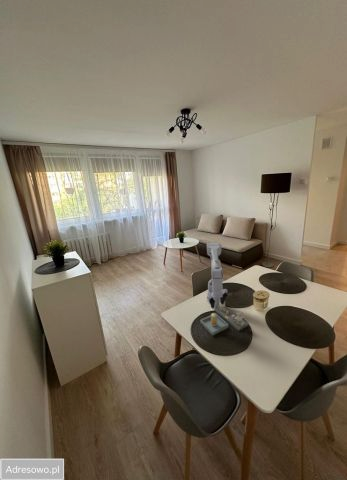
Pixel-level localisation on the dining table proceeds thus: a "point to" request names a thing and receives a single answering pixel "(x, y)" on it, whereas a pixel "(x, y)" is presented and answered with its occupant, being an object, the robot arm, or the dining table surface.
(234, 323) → the fuse block
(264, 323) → the dining table surface
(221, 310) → the fuse
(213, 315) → the marked fuse
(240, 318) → the fuse
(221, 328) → the tray
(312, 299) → the dining table surface
